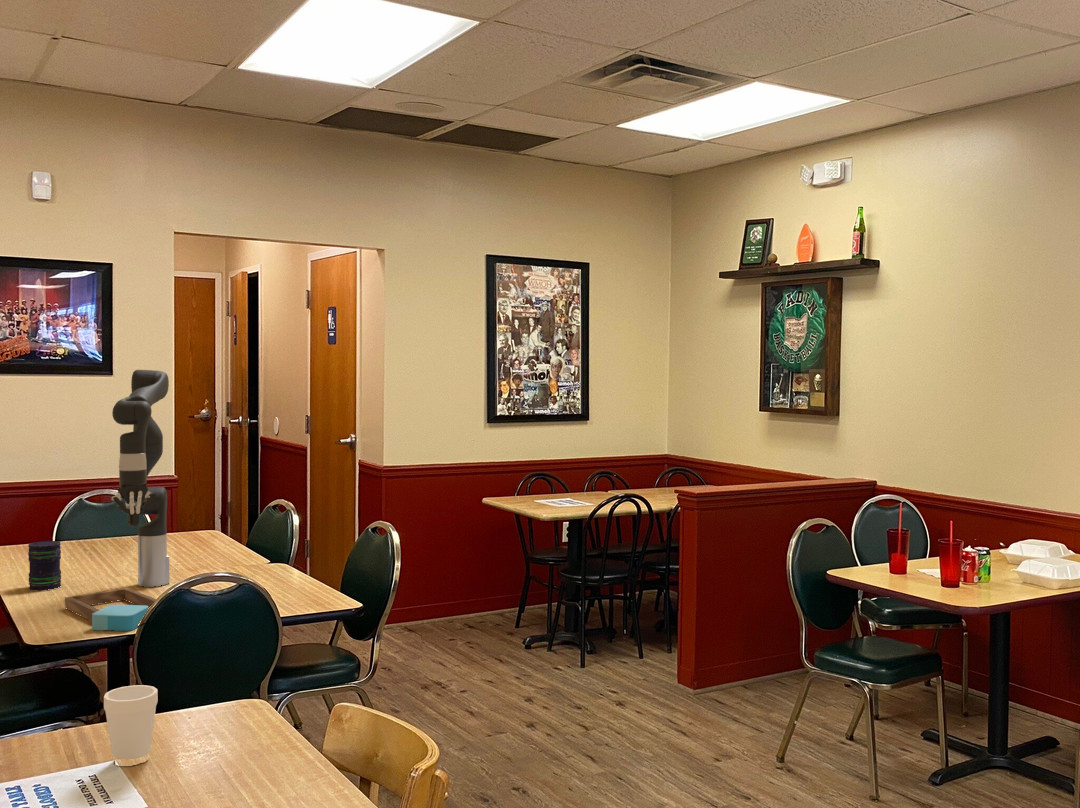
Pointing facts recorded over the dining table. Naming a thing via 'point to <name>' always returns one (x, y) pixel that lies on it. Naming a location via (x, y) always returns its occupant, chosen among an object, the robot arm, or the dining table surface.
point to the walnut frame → (104, 600)
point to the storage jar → (44, 565)
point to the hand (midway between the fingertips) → (133, 526)
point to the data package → (118, 617)
